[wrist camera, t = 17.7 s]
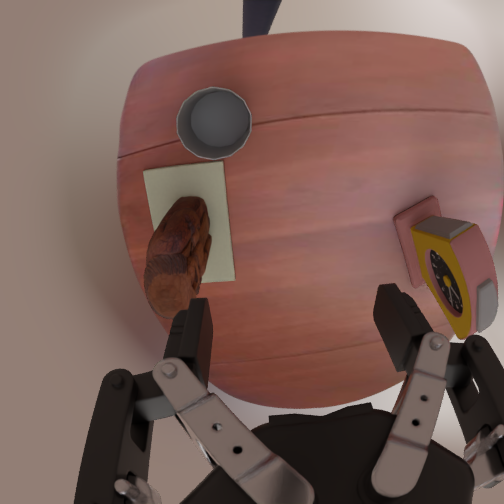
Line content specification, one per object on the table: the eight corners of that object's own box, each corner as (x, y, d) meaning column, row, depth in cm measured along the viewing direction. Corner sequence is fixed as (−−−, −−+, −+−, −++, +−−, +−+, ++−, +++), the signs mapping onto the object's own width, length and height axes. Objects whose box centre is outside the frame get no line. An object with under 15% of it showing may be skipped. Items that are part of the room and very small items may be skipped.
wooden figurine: (214, 261, 49) (203, 340, 33) (176, 262, 49) (150, 339, 33) (209, 190, 43) (190, 247, 28) (166, 193, 43) (126, 249, 27)
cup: (261, 114, 39) (267, 117, 30) (225, 158, 42) (221, 174, 33) (214, 79, 37) (206, 72, 28) (179, 124, 39) (161, 131, 31)
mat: (144, 169, 42) (142, 171, 41) (223, 160, 42) (222, 161, 41) (167, 281, 52) (166, 284, 51) (235, 277, 52) (235, 280, 51)
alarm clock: (387, 203, 46) (462, 271, 27) (429, 180, 44) (514, 234, 25) (413, 294, 55) (463, 369, 36) (448, 273, 53) (505, 340, 34)
